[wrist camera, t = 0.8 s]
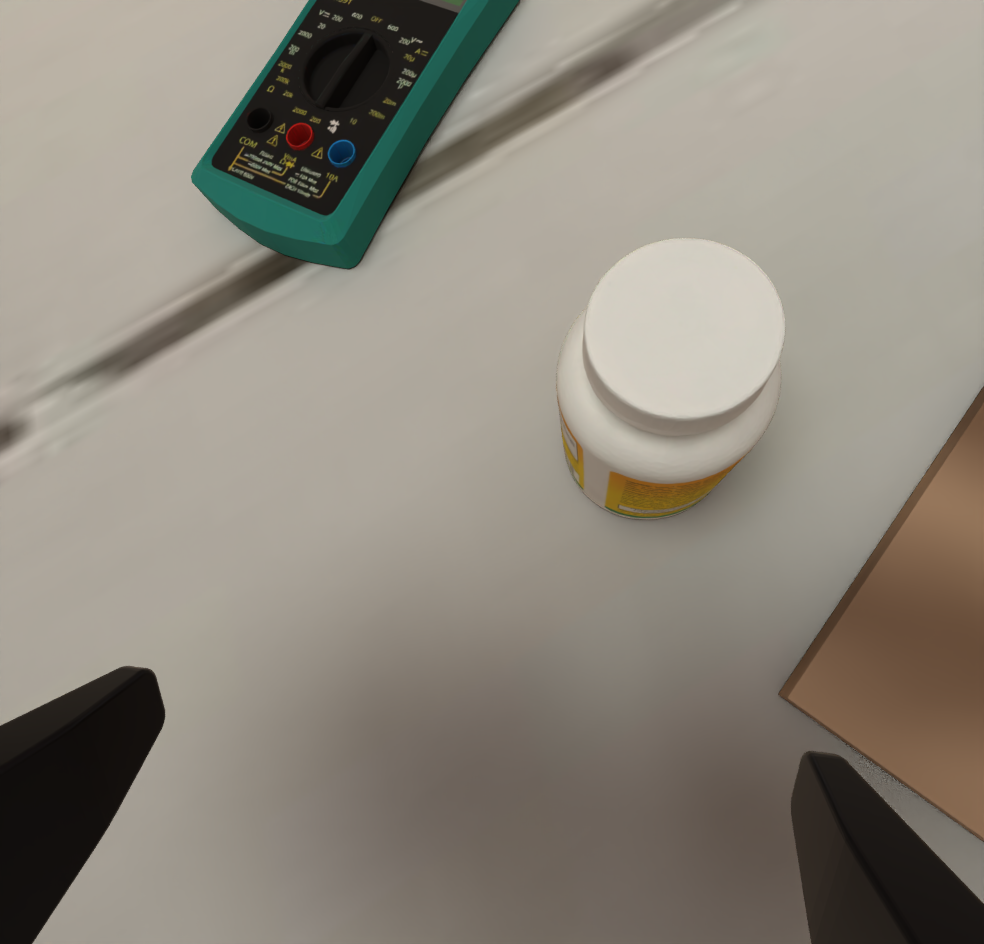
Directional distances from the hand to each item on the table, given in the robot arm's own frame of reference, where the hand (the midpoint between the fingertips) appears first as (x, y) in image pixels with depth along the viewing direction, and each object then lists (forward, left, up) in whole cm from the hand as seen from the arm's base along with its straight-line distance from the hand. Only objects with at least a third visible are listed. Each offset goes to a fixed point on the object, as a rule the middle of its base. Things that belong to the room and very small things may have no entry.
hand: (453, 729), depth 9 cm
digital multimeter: (+24, -1, -14) cm, 27 cm away
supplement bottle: (+6, -6, -13) cm, 16 cm away
